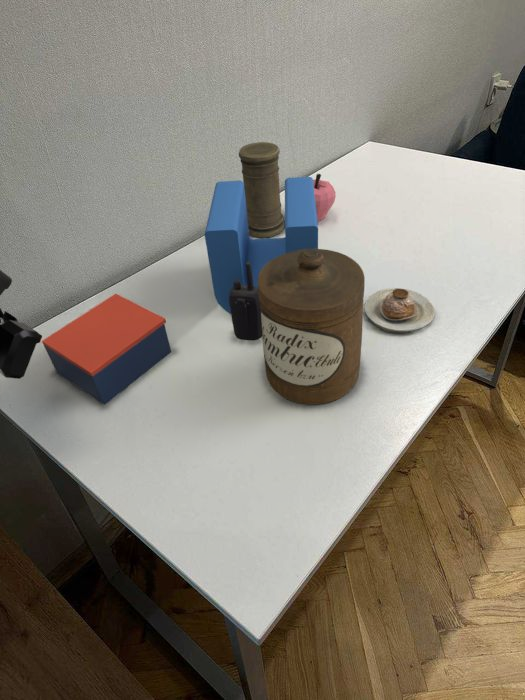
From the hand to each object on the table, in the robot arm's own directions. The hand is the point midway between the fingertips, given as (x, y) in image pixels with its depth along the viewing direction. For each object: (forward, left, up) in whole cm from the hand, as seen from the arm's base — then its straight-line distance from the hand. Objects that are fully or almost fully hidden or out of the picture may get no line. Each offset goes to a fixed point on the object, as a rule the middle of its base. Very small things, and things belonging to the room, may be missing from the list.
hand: (39, 338), depth 72 cm
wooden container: (+38, -6, -13) cm, 41 cm away
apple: (+54, +41, -13) cm, 69 cm away
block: (+37, +18, -13) cm, 43 cm away
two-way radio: (+30, +5, -13) cm, 33 cm away
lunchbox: (+7, +6, -12) cm, 16 cm away
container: (+42, +41, -13) cm, 60 cm away
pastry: (+57, +3, -13) cm, 59 cm away
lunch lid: (+8, +6, -6) cm, 11 cm away
